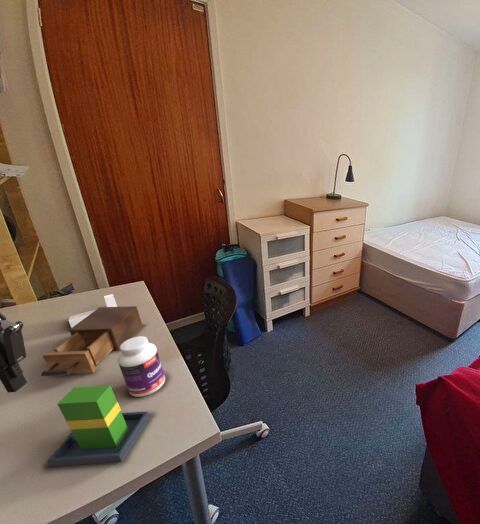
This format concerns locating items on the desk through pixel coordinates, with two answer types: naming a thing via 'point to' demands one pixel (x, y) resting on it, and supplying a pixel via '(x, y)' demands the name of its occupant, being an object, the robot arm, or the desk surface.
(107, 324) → the cabinet
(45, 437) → the desk surface
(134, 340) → the pill bottle
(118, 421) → the yellow-banded green block
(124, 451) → the tray
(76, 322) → the bracket
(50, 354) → the drawer
